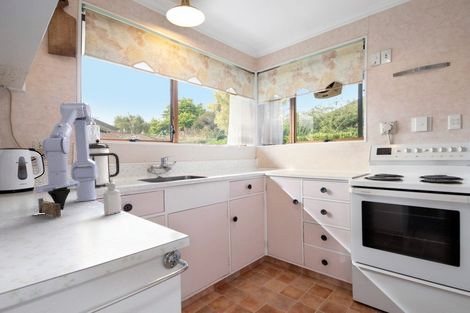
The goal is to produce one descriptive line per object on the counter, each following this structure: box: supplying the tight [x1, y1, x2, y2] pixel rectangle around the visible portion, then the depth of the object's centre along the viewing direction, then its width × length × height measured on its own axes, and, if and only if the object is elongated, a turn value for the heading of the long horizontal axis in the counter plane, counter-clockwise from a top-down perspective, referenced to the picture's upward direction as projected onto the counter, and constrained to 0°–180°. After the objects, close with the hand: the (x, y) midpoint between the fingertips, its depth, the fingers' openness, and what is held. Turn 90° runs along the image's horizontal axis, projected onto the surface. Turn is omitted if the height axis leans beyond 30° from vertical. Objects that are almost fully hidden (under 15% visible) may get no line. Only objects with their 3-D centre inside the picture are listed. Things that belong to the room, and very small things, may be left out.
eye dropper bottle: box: [102, 178, 122, 216], centre depth 85 cm, size 4×6×12 cm
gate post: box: [37, 197, 46, 213], centre depth 88 cm, size 5×5×6 cm
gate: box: [41, 200, 62, 218], centre depth 84 cm, size 12×2×4 cm, turn 58°
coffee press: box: [88, 138, 120, 189], centre depth 155 cm, size 17×16×30 cm
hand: (60, 209), depth 85 cm, fingers closed
